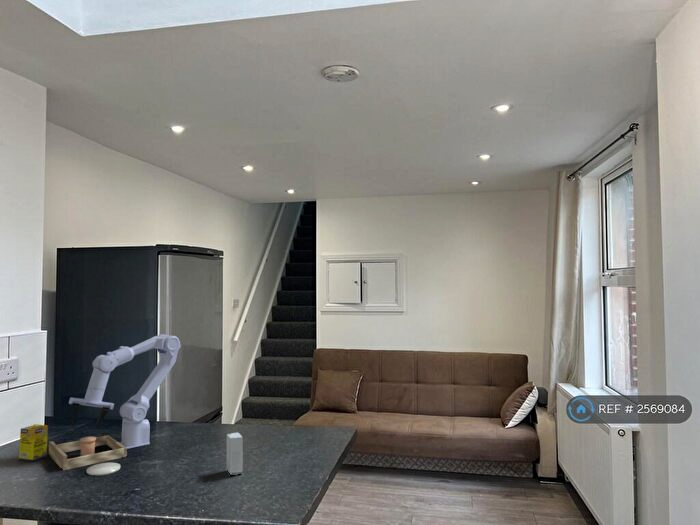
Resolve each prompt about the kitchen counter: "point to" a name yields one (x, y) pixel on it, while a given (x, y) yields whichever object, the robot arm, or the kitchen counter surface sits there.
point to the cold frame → (64, 463)
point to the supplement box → (33, 442)
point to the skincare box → (234, 453)
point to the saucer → (103, 469)
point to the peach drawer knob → (87, 446)
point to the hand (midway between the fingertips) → (84, 427)
